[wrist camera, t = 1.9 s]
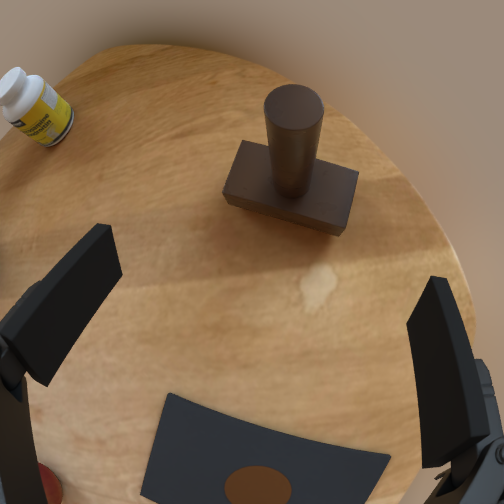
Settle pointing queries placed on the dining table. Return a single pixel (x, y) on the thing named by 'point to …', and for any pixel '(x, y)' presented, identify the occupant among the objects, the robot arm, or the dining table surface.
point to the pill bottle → (34, 107)
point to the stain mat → (250, 463)
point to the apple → (51, 485)
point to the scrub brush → (292, 167)
